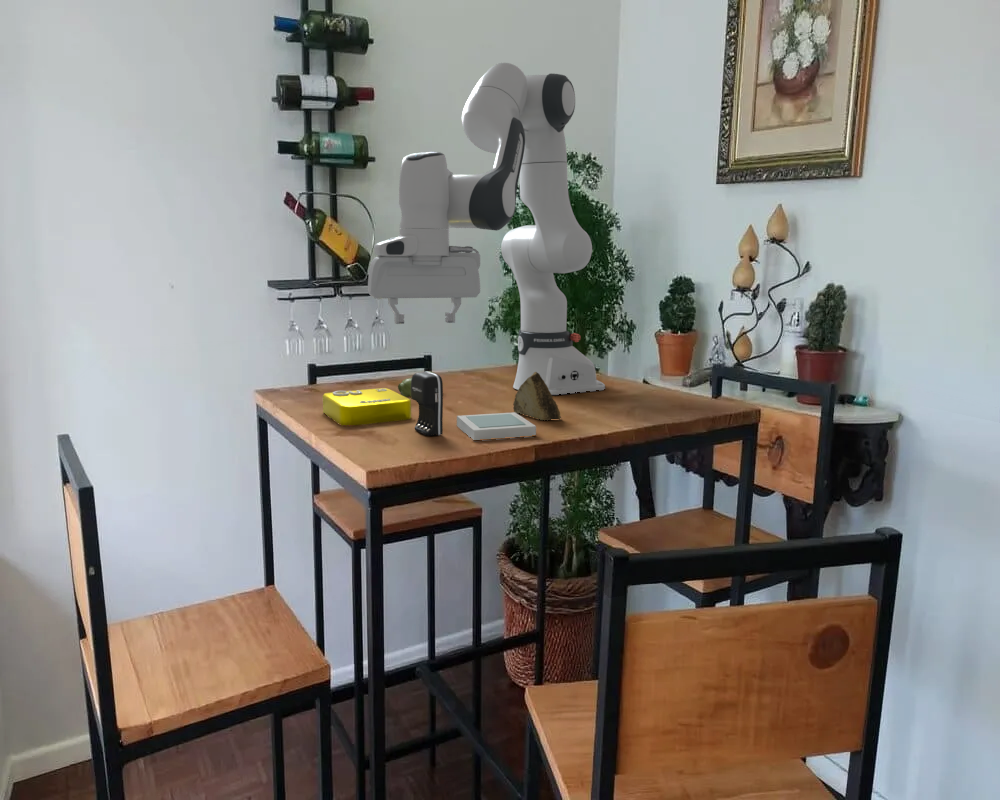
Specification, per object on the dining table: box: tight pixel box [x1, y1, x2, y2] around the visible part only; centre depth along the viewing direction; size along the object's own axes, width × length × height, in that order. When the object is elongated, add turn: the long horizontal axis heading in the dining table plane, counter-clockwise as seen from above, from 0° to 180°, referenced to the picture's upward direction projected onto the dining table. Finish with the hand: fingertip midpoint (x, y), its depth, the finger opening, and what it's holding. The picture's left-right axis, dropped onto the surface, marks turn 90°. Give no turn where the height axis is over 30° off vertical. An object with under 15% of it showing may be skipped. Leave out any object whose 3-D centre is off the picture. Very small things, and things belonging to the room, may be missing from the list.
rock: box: [512, 372, 562, 421], centre depth 161 cm, size 11×9×10 cm
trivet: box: [456, 411, 537, 441], centre depth 148 cm, size 12×12×2 cm
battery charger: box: [410, 371, 444, 437], centre depth 145 cm, size 7×4×11 cm, turn 33°
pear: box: [397, 371, 435, 398], centre depth 182 cm, size 6×5×10 cm
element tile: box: [322, 387, 412, 427], centre depth 160 cm, size 15×15×5 cm
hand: (425, 323), depth 142 cm, fingers open, 8 cm apart
